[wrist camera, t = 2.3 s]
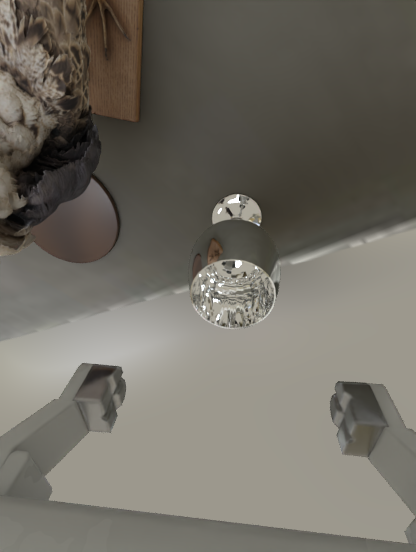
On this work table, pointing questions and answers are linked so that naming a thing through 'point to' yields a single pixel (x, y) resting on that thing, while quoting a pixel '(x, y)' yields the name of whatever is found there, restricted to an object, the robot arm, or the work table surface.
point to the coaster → (81, 226)
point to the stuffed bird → (59, 101)
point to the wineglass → (234, 266)
